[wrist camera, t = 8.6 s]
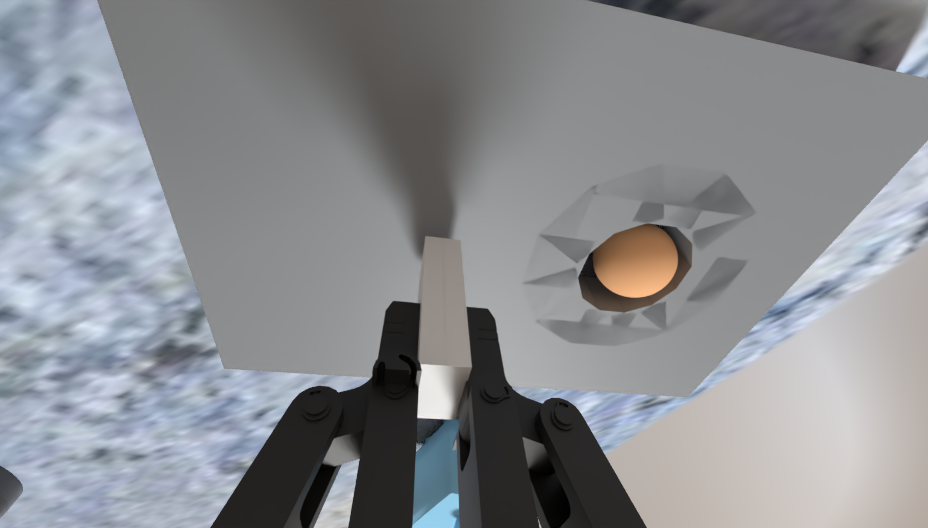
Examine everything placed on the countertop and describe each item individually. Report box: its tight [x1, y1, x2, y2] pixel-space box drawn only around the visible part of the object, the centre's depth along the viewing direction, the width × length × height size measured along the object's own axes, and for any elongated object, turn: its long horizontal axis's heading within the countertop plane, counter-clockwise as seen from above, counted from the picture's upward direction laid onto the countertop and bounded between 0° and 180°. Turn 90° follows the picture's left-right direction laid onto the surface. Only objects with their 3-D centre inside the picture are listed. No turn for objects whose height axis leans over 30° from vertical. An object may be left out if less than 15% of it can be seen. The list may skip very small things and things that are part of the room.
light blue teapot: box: [412, 417, 460, 528], centre depth 29 cm, size 12×6×8 cm, turn 151°
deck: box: [98, 0, 928, 397], centre depth 18 cm, size 30×20×3 cm, turn 80°
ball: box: [593, 223, 678, 298], centre depth 19 cm, size 4×4×4 cm
